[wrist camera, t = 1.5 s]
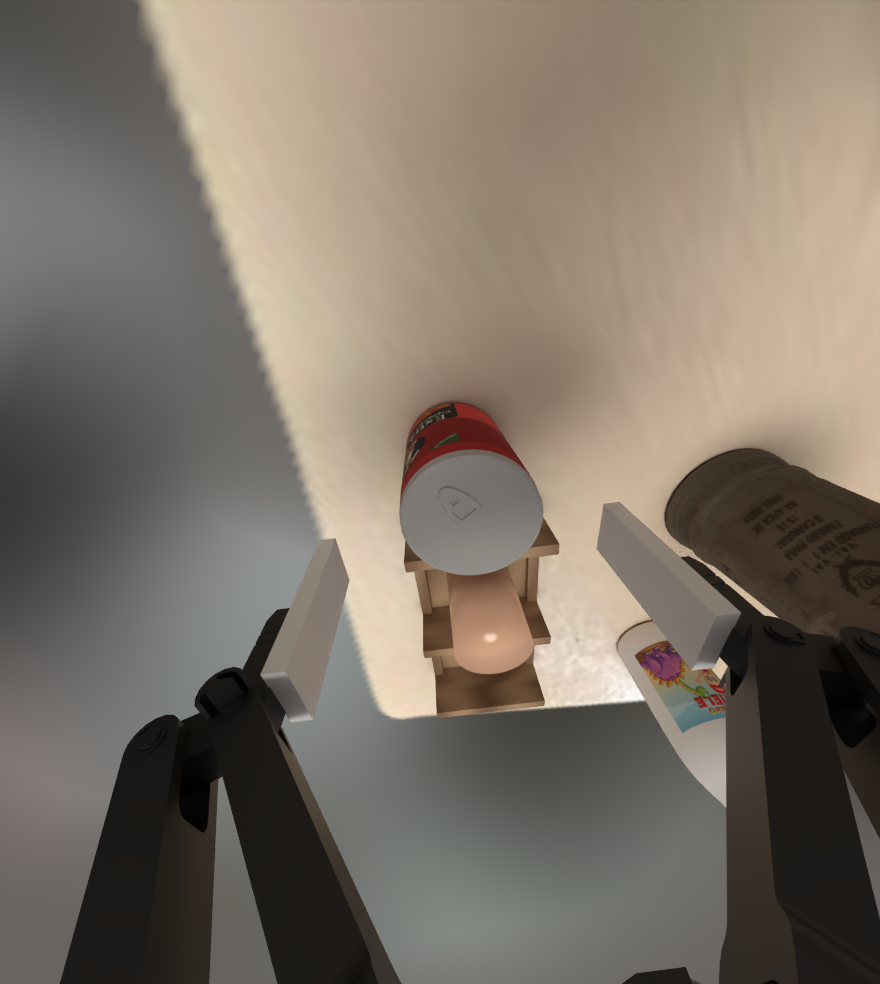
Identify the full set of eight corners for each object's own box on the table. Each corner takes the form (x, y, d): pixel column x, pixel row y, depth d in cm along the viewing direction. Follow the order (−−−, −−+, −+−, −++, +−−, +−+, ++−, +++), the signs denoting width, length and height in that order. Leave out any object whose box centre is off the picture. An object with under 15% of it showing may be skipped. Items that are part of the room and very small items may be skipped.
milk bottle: (663, 657, 43) (831, 894, 25) (608, 659, 42) (739, 902, 25) (687, 617, 39) (903, 865, 21) (626, 619, 38) (796, 873, 21)
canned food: (435, 380, 24) (446, 425, 14) (519, 432, 26) (576, 499, 17) (390, 462, 27) (372, 544, 17) (468, 501, 29) (491, 593, 20)
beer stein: (635, 520, 31) (920, 786, 14) (725, 423, 27) (1304, 642, 10) (728, 562, 36) (1024, 797, 19) (818, 487, 32) (1309, 705, 15)
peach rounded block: (505, 539, 30) (535, 618, 22) (506, 585, 33) (532, 669, 25) (442, 547, 30) (450, 628, 22) (449, 592, 33) (457, 678, 25)
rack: (534, 503, 30) (559, 544, 24) (528, 655, 41) (544, 705, 36) (407, 519, 30) (403, 562, 25) (435, 666, 41) (437, 717, 36)
